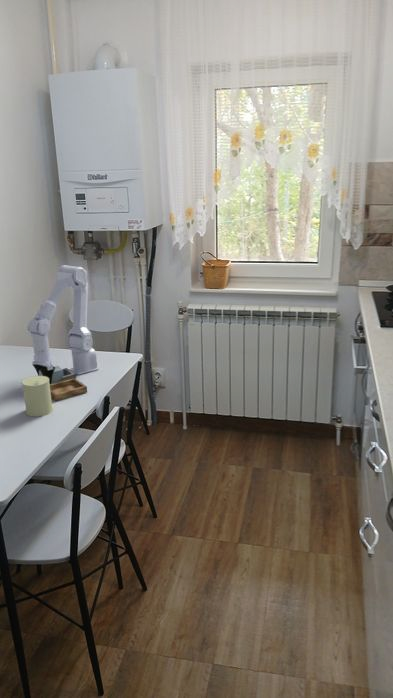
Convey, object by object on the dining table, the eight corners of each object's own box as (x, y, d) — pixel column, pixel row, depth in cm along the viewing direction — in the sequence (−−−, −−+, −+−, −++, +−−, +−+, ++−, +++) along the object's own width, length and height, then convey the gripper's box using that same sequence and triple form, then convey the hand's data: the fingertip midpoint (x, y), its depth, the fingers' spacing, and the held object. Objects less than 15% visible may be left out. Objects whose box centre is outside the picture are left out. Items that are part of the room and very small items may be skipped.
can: (28, 418, 187) (24, 386, 183) (23, 408, 194) (19, 377, 190) (55, 412, 191) (52, 381, 187) (49, 403, 198) (45, 372, 194)
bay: (67, 375, 223) (66, 367, 222) (76, 382, 216) (75, 374, 215) (54, 379, 220) (53, 371, 219) (63, 385, 213) (62, 377, 212)
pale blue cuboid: (59, 379, 219) (57, 365, 217) (64, 383, 215) (62, 369, 213) (40, 384, 215) (38, 370, 213) (45, 388, 211) (43, 374, 209)
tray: (75, 384, 215) (74, 378, 214) (87, 392, 207) (86, 386, 206) (44, 392, 208) (43, 386, 207) (55, 401, 200) (55, 395, 199)
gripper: (24, 346, 212) (28, 379, 216) (38, 356, 201) (42, 390, 205) (41, 342, 216) (45, 374, 220) (56, 352, 205) (60, 385, 209)
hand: (45, 382), depth 213 cm, fingers closed on pale blue cuboid, 5 cm apart
